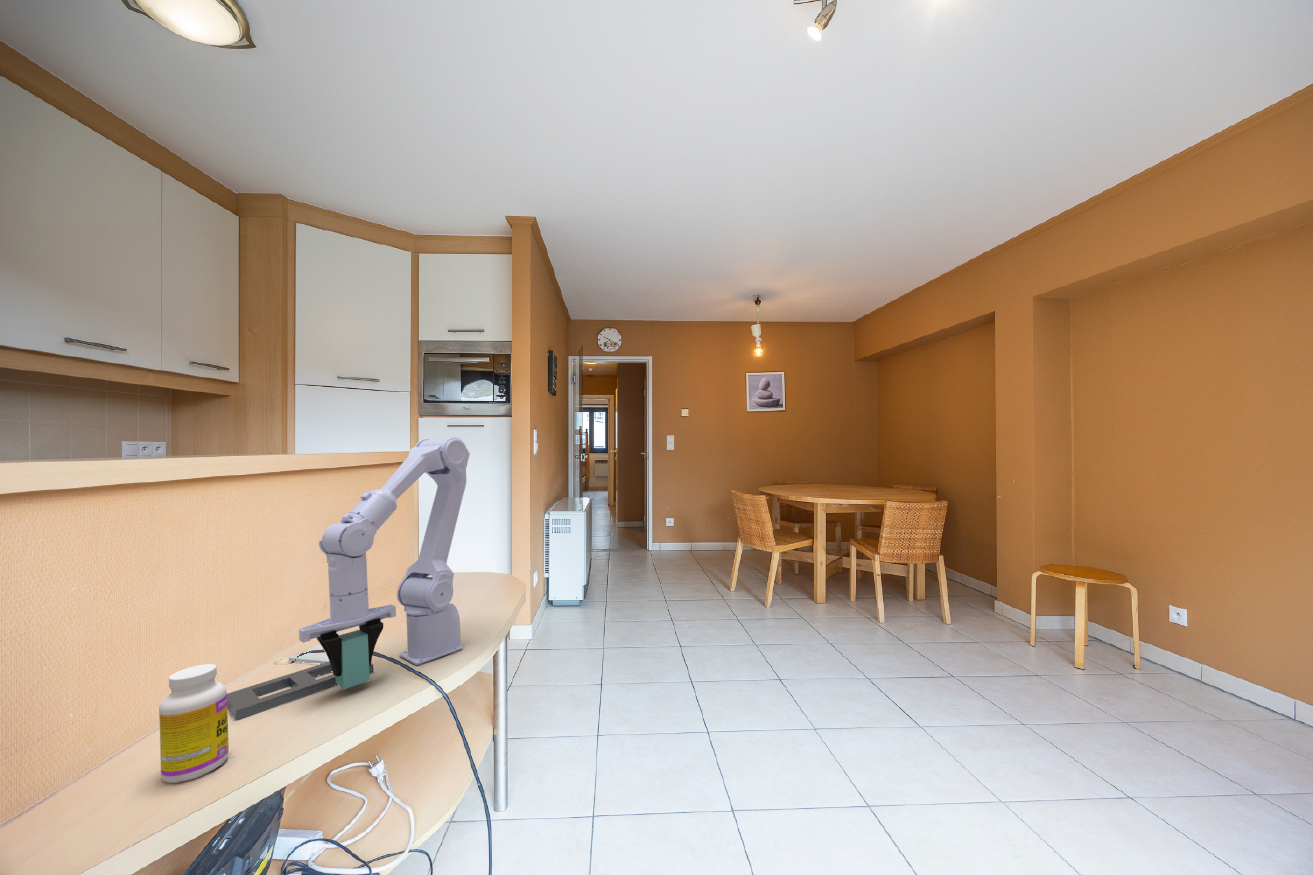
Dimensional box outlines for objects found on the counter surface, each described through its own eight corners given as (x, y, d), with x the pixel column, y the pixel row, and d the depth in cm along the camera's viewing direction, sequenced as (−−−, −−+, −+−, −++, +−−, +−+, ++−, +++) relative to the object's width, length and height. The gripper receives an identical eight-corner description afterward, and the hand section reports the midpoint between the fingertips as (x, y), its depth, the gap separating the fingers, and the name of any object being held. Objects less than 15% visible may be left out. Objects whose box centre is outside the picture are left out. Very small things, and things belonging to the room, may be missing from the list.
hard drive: (288, 657, 100) (337, 660, 97) (325, 641, 108) (371, 644, 105) (288, 665, 100) (337, 669, 97) (325, 648, 108) (372, 652, 105)
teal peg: (361, 674, 90) (359, 629, 90) (369, 680, 87) (367, 634, 87) (335, 682, 87) (333, 636, 87) (343, 689, 84) (341, 641, 84)
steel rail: (355, 660, 99) (355, 653, 99) (373, 672, 94) (373, 664, 94) (224, 703, 84) (224, 694, 84) (236, 720, 78) (235, 710, 78)
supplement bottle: (226, 770, 66) (222, 672, 66) (155, 793, 62) (152, 688, 62) (231, 747, 71) (228, 656, 71) (167, 766, 67) (164, 670, 67)
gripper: (383, 578, 95) (387, 649, 95) (292, 598, 84) (295, 679, 84) (399, 583, 91) (402, 658, 91) (305, 606, 80) (308, 691, 80)
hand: (352, 669), depth 87 cm, fingers closed on teal peg, 4 cm apart
